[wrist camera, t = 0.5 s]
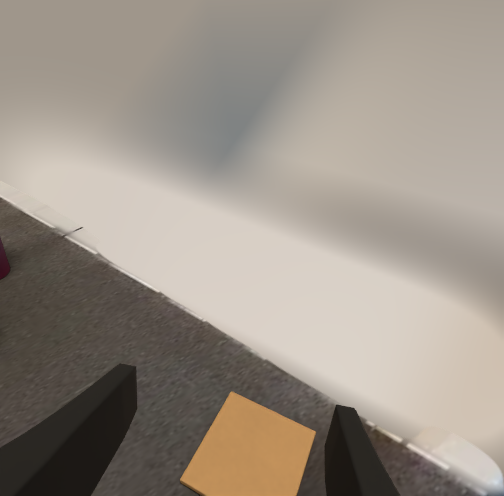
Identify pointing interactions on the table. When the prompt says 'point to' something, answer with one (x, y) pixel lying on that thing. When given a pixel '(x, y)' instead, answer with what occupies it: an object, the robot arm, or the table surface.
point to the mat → (249, 453)
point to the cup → (3, 262)
